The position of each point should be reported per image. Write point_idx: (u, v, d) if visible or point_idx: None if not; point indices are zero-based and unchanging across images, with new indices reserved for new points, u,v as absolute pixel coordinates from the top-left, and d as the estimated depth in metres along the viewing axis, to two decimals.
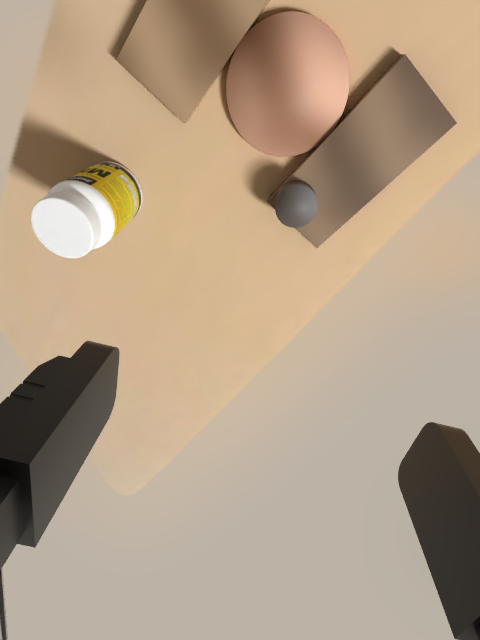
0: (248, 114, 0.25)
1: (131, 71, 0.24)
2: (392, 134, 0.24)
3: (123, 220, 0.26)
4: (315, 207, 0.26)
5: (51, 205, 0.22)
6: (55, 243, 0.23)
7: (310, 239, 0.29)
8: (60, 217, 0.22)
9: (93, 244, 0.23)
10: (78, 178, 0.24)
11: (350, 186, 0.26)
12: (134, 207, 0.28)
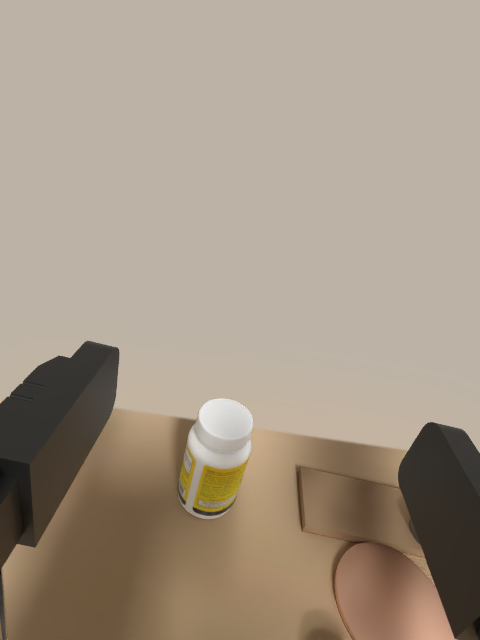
0: (353, 578, 0.26)
1: (302, 477, 0.32)
2: None
3: (223, 484, 0.25)
4: None
5: (241, 409, 0.27)
6: (209, 414, 0.25)
7: None
8: (236, 415, 0.26)
9: (227, 441, 0.24)
10: None
11: None
12: (221, 502, 0.27)
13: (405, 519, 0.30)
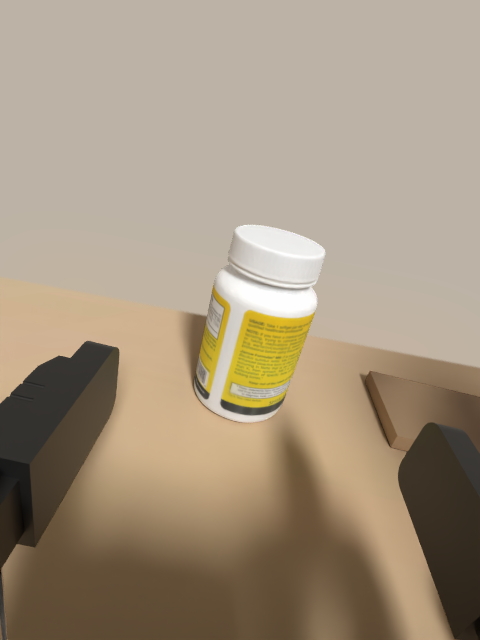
0: None
1: (376, 382, 0.22)
2: None
3: (275, 351, 0.15)
4: None
5: (301, 237, 0.16)
6: (253, 233, 0.15)
7: None
8: (295, 240, 0.16)
9: (289, 260, 0.14)
10: None
11: None
12: (267, 390, 0.16)
13: None
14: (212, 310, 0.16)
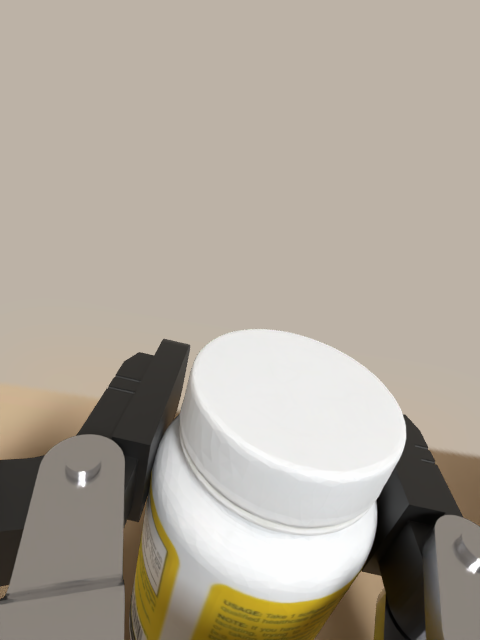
0: None
1: None
2: None
3: None
4: None
5: (341, 361, 0.08)
6: (235, 372, 0.07)
7: None
8: (331, 378, 0.07)
9: (328, 488, 0.05)
10: None
11: None
12: None
13: None
14: (147, 527, 0.07)
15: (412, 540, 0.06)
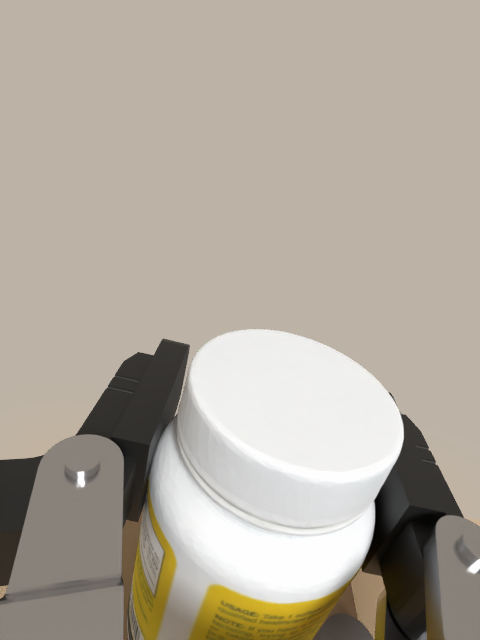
0: None
1: None
2: None
3: None
4: None
5: (339, 361, 0.08)
6: (232, 372, 0.07)
7: None
8: (329, 378, 0.07)
9: (325, 489, 0.05)
10: None
11: None
12: None
13: None
14: (145, 527, 0.07)
15: (413, 541, 0.06)
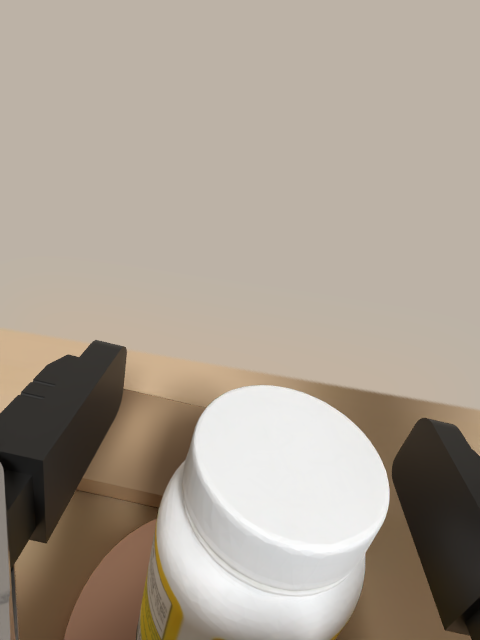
0: (128, 580, 0.12)
1: None
2: None
3: None
4: None
5: (332, 418, 0.08)
6: (233, 438, 0.07)
7: None
8: (322, 439, 0.08)
9: (316, 560, 0.06)
10: None
11: None
12: None
13: None
14: (153, 576, 0.08)
15: None
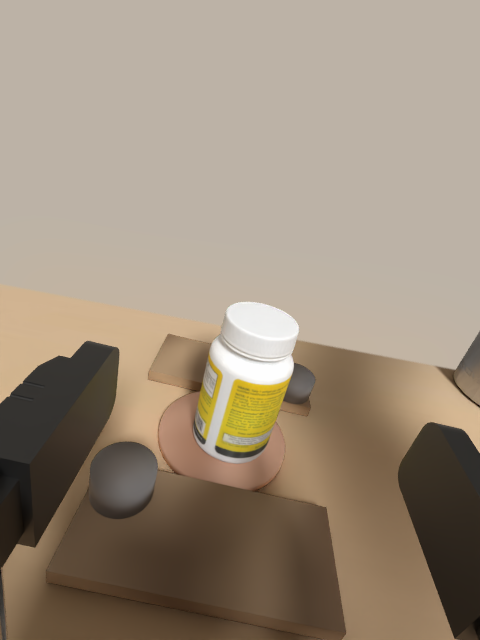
0: (185, 412, 0.24)
1: (166, 340, 0.30)
2: (270, 553, 0.16)
3: (259, 409, 0.19)
4: (137, 489, 0.16)
5: (281, 313, 0.20)
6: (240, 314, 0.19)
7: (62, 547, 0.15)
8: (275, 317, 0.19)
9: (268, 342, 0.17)
10: None
11: (181, 549, 0.16)
12: (253, 438, 0.20)
13: None
14: (208, 374, 0.20)
15: None
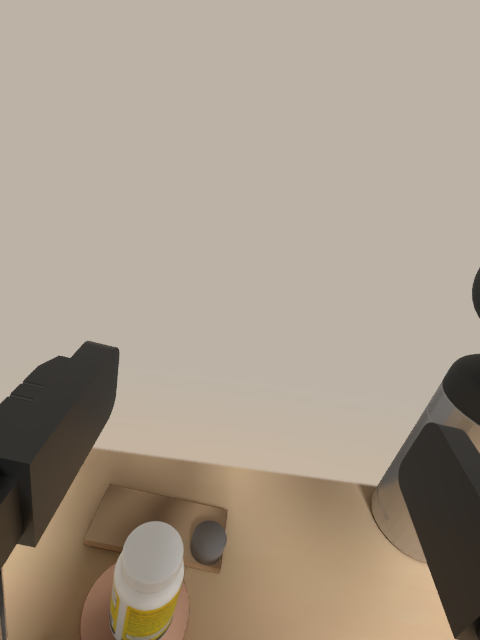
0: (108, 588, 0.29)
1: (106, 494, 0.35)
2: None
3: (150, 621, 0.24)
4: None
5: (172, 535, 0.25)
6: (135, 547, 0.24)
7: None
8: (165, 545, 0.24)
9: (150, 585, 0.22)
10: None
11: None
12: (151, 635, 0.25)
13: (191, 533, 0.33)
14: (112, 588, 0.24)
15: None
